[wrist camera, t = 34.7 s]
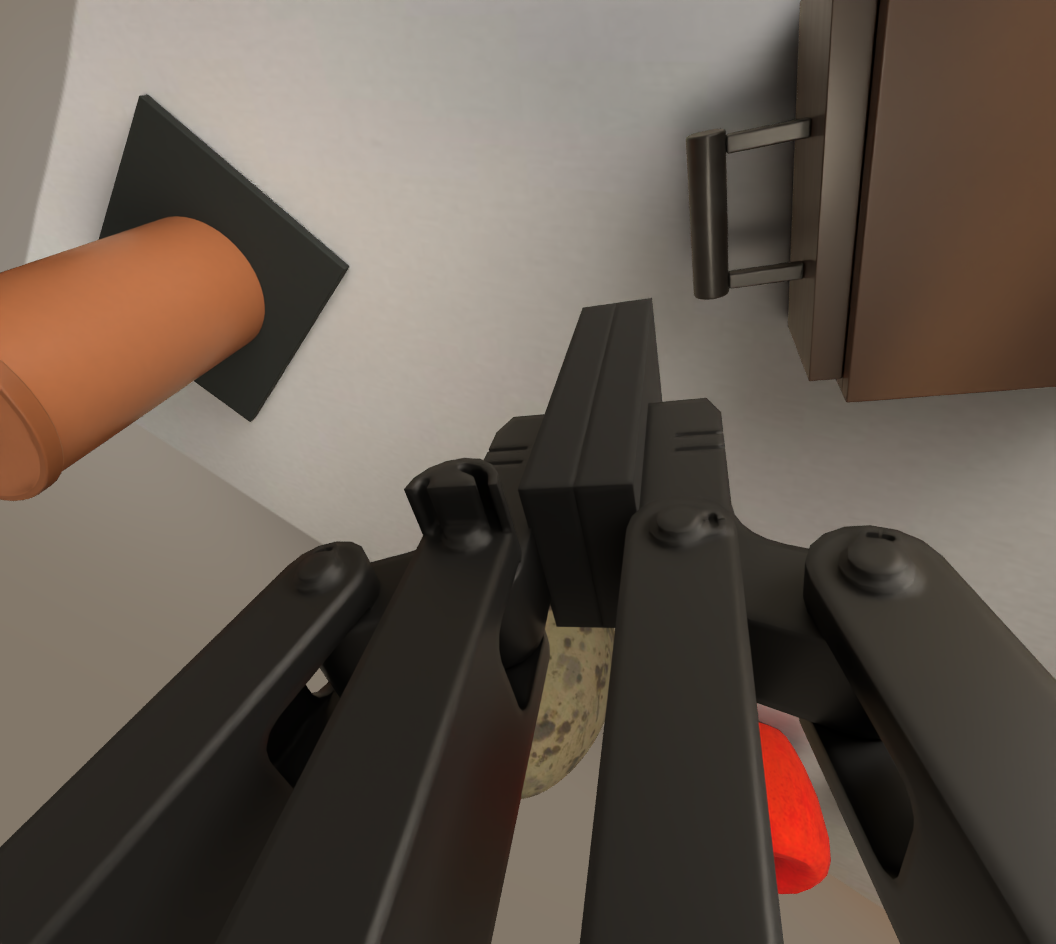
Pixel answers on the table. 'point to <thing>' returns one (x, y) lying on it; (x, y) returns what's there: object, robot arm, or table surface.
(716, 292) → the drawer
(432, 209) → the table surface
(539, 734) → the decorative egg
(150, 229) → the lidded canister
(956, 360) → the cabinet
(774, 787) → the apple
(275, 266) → the mat
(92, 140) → the table surface
